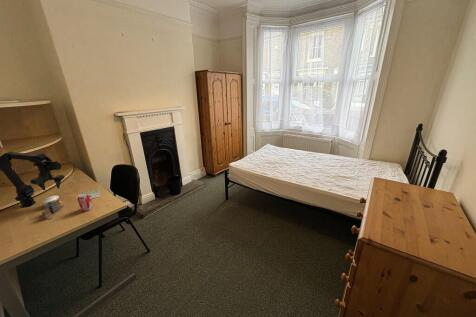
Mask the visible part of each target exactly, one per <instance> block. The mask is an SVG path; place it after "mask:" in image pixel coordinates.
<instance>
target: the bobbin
mask: <svg viewBox="0 0 476 317" xmlns="http://www.w3.org/2000/svg"><path fill="white" fill-rule="evenodd" d="M59 197H60V196H59V195H51V196H48V197H45V198H44V199H42V203H44V204H47V203H49V202H55V201H57V200H59ZM60 204H62V202H61V201H60Z"/></svg>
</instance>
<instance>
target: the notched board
mask: <svg viewBox="0 0 476 317" xmlns="http://www.w3.org/2000/svg"><path fill="white" fill-rule="evenodd" d="M60 202H61V201H60V199H57V200H56V201H55V203H56V206H57V208H58V211H57V212H56V213H53V214H51V212H50V209H46V208H45V210H43V211H42V212H41V215H42V218H41V219H40V221H47V220H52V219H53V218H54V217H55V216H56V215H57V214H59V212H60V211H61V210H62V209H63V208H64V207H66V205H65V204H64V205H63V204H62V203H60Z"/></svg>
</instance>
